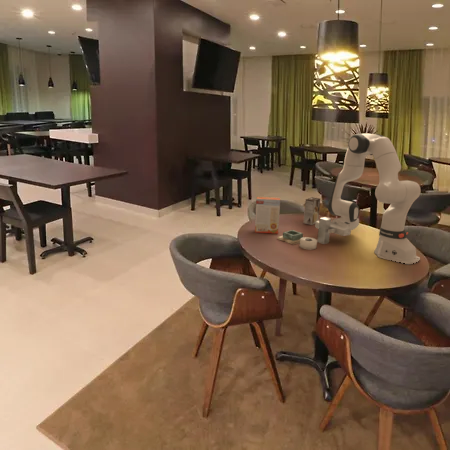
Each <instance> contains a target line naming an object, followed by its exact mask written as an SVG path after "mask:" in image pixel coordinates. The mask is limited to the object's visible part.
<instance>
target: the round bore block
mask: <svg viewBox="0 0 450 450" xmlns="http://www.w3.org/2000/svg"><path fill="white" fill-rule="evenodd" d="M317 240H318V239H317V238H314V237H308V236H303V238H301V239H300V243H299V248H300V249H302V250H308V251H313V250H316V249H317V245H318V242H317Z"/></svg>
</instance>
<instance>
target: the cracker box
mask: <svg viewBox="0 0 450 450" xmlns="http://www.w3.org/2000/svg"><path fill="white" fill-rule="evenodd" d="M255 200H256V203H255V221H254V233H258V234H272V235H275V234H276V235H277V234H279V225H280V211H281V210H280V209H281V208H280V207H281V197H270V196H269V197H266V196H256V198H255Z"/></svg>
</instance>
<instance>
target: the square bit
mask: <svg viewBox="0 0 450 450" xmlns="http://www.w3.org/2000/svg"><path fill="white" fill-rule="evenodd" d="M318 221H319V230H318V229H317V230H318V232H317V239H316V240H317V244H318V243H319V244H322V245H326V244H329V242H330V235H331V233H327V229H330V227H331V222H332V218H330V217H326V216H324V217H319V219H318Z"/></svg>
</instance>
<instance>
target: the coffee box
mask: <svg viewBox="0 0 450 450" xmlns="http://www.w3.org/2000/svg"><path fill="white" fill-rule="evenodd" d="M320 207H321V198H319V197H315V196H314V197H313V196H311V197H308V198H306V199H305V202H304V212H303V213H304V215H303V224H306V225H311V226H313V225H315V223H316V221H319V220H320Z"/></svg>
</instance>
